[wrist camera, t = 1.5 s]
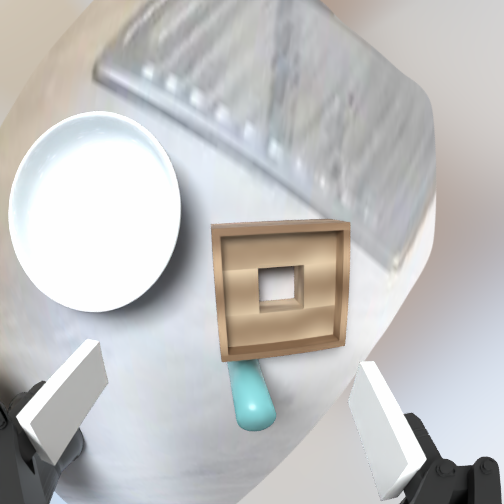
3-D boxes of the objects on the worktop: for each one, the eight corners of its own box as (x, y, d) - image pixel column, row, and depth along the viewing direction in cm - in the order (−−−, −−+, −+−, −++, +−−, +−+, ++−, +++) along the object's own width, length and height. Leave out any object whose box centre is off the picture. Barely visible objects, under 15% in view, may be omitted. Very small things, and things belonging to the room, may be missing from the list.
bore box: (326, 326, 39) (344, 345, 33) (219, 338, 37) (221, 362, 31) (328, 218, 37) (350, 222, 31) (211, 224, 35) (211, 228, 29)
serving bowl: (186, 119, 32) (182, 100, 25) (189, 292, 36) (186, 312, 29) (37, 138, 29) (10, 128, 22) (44, 293, 33) (19, 309, 26)
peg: (257, 371, 39) (276, 428, 27) (228, 374, 38) (238, 433, 26) (256, 346, 38) (276, 400, 26) (226, 349, 37) (235, 405, 26)
